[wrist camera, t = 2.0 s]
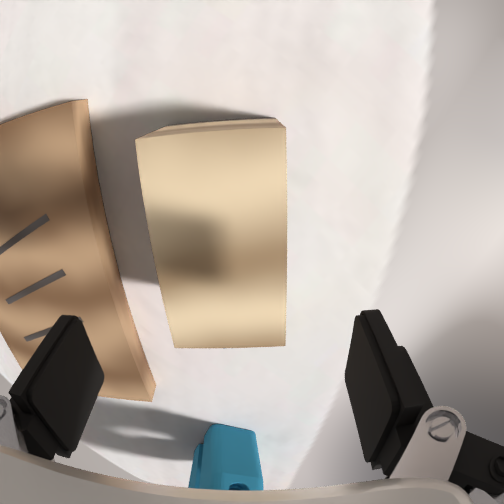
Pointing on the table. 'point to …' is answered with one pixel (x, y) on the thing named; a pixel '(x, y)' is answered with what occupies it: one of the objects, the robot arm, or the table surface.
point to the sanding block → (219, 229)
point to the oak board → (62, 247)
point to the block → (227, 461)
